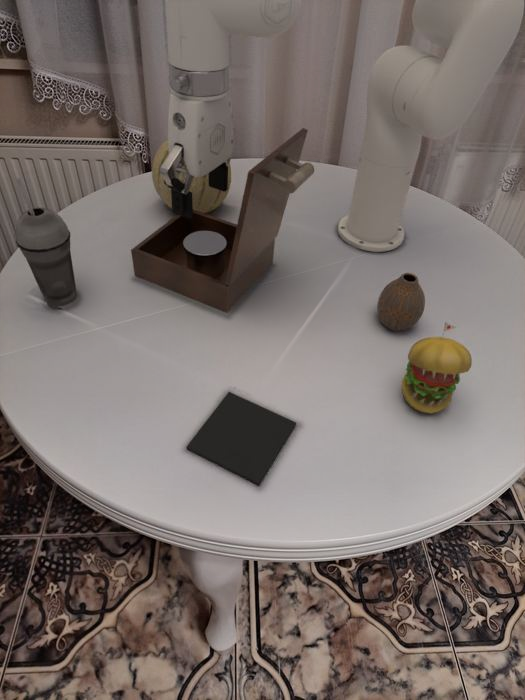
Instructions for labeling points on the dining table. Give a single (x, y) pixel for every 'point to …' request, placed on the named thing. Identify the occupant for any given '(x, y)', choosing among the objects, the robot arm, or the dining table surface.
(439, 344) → the hamburger
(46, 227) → the beverage cup
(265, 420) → the mat
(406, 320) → the vase
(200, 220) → the chest
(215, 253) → the bowl
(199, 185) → the cantaloupe
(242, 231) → the lid
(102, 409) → the dining table surface
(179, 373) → the dining table surface
